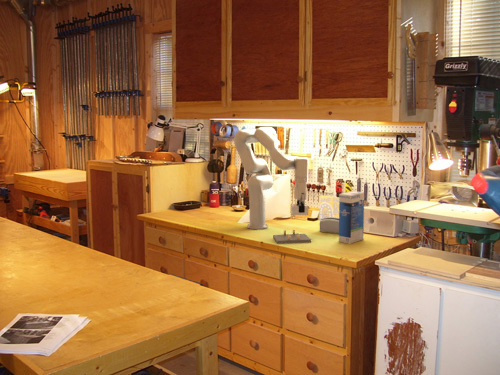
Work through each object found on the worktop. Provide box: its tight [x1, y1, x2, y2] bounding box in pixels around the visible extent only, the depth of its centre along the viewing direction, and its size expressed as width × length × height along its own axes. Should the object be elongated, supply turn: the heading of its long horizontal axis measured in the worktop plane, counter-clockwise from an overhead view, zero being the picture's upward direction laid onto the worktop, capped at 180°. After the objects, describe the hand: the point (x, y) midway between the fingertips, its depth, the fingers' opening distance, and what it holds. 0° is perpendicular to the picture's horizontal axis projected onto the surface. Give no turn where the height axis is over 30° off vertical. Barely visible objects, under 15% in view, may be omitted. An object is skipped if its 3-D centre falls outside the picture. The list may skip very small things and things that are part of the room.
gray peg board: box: [272, 229, 312, 245], centre depth 275 cm, size 14×18×4 cm
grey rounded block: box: [319, 216, 339, 234], centre depth 293 cm, size 17×5×10 cm, turn 63°
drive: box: [290, 203, 309, 216], centre depth 287 cm, size 9×6×5 cm, turn 95°
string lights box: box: [338, 190, 365, 245], centre depth 271 cm, size 13×8×26 cm, turn 135°
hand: (300, 211), depth 287 cm, fingers closed on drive, 5 cm apart
